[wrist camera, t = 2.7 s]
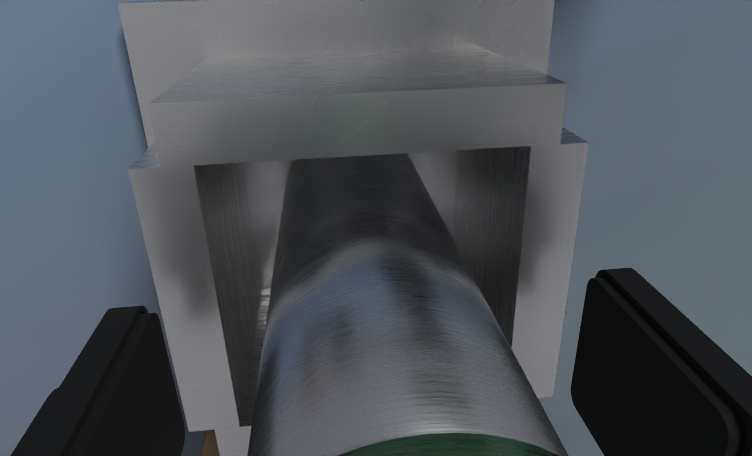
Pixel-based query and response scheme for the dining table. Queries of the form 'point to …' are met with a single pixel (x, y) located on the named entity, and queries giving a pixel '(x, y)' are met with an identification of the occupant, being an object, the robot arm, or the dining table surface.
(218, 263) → the stand base
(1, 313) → the dining table surface
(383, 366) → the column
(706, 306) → the dining table surface
